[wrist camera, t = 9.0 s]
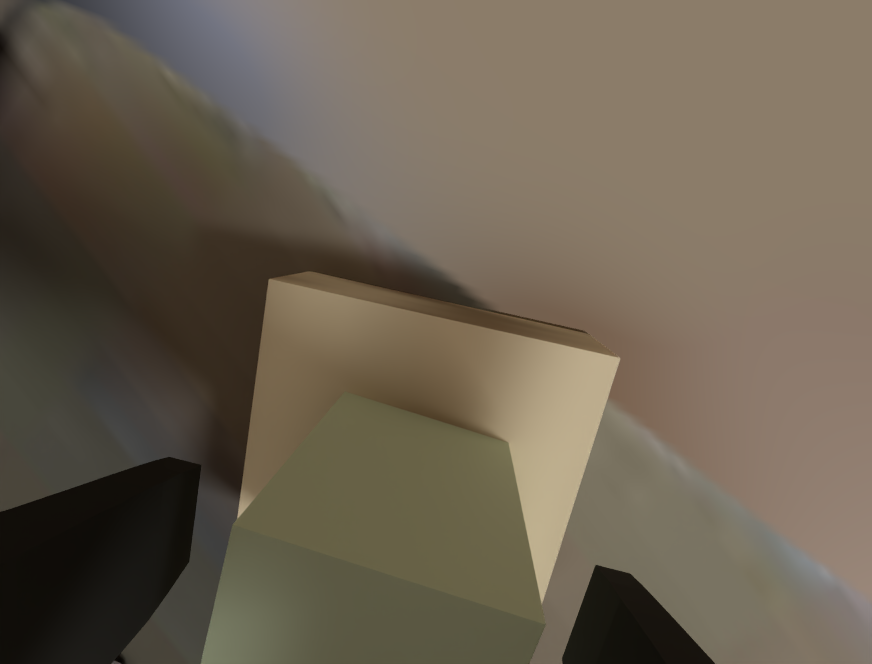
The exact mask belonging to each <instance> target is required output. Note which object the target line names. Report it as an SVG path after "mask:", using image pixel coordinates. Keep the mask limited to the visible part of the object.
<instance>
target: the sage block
mask: <svg viewBox="0 0 872 664" xmlns="http://www.w3.org/2000/svg"><path fill="white" fill-rule="evenodd" d="M545 625H546V623H545V618H544V614H543V609H542V604H541V599H540V594H539V589H538V584H537V579H536V575H535V570H534V565H533V560H532V555H531V550H530V545H529V540H528V536H527V531H526V526H525V521H524V516H523V511H522V506H521V501H520V497H519V492H518V487H517V482H516V477H515V472H514V467H513V462H512V457H511V453H510V448H509V443H508V442H505V441H502V440H498V439H495V438H492V437H489V436H486V435H482V434H479V433H476V432H473V431H470V430H467V429H463V428H460V427H457V426H454V425H451V424H447V423H444V422H441V421H438V420H435V419H431V418H428V417H425V416H422V415H419V414H415V413H412V412H409V411H406V410H403V409H400V408H396V407H393V406H390V405H387V404H384V403H380V402H377V401H374V400H371V399H368V398H364V397H361V396H358V395H355V394H352V393H348V392H344V393H343V394H342V396H341V397H340V398H339V399H338V400H337V401H336V403H335V404H334V405H333V406H332V407H331V409H330V410H329V411H328V412H327V413H326V415H325V416H324V417H323V418H322V419H321V420H320V422H319V423H318V424H317V425H316V426H315V428H314V429H313V430H312V431H311V432H310V434H309V435H308V436H307V437H306V438H305V439H304V441H303V442H302V443H301V444H300V445H299V447H298V448H297V449H296V450H295V451H294V453H293V454H292V455H291V456H290V457H289V458H288V460H287V461H286V462H285V463H284V464H283V466H282V467H281V468H280V469H279V470H278V472H277V473H276V474H275V475H274V476H273V477H272V479H271V480H270V481H269V482H268V483H267V485H266V486H265V487H264V488H263V489H262V490H261V492H260V493H259V494H258V495H257V496H256V498H255V499H254V500H253V501H252V502H251V504H250V505H249V506H248V507H247V508H246V509H245V511H244V512H243V513H242V514H241V515H240V517H239V518H238V519H237V520H236V521H235V523H234V524H233V525H232V530H231V534H230V538H229V543H228V547H227V552H226V556H225V560H224V565H223V569H222V573H221V578H220V582H219V586H218V591H217V595H216V599H215V604H214V608H213V613H212V617H211V621H210V626H209V630H208V634H207V639H206V643H205V647H204V652H203V656H202V661H201V664H529V663H530V660H531V658H532V656H533V653H534V651H535V649H536V646H537V644H538V642H539V639H540V637H541V635H542V632H543V630H544V628H545Z"/></svg>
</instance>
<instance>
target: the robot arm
mask: <svg viewBox="0 0 872 664" xmlns="http://www.w3.org/2000/svg"><path fill="white" fill-rule="evenodd" d="M200 471H201V465H199V464H195V463H191V462H187V461H183V460H179V459H175V458H171V457H167V458H163V459H159V460H155V461H152V462H149V463H146V464H142V465H139V466H136V467H133V468H130V469H127V470H124V471H121V472H118V473H115V474H112V475H109V476H106V477H103V478H100V479H98V480H95V481H92V482H89V483H86V484H83V485H80V486H77V487H74V488H71V489H68V490H65V491H62V492H59V493H56V494H53V495H50V496H47V497H45V498H42V499H39V500H36V501H33V502H30V503H27V504H24V505H21V506H18V507H15V508H12V509H9V510H5V511H2V512H0V664H121V663H119V662H117V661H114V660H115V659H116V658H117V657H118V655H119V654H120V653H121V652H122V651H123V649H124V648H125V647H126V646H127V645H128V644H129V642H130V641H131V640H132V639H133V638H134V637H135V635H136V634H137V633H138V632H139V631H140V630H141V628H142V627H143V626H144V625H145V624H146V622H147V621H148V620H149V619H150V617H151V616H152V614H153V613H154V612H155V610H156V609H157V607H158V606H159V605H160V603H161V602H162V601H163V599H164V598H165V596H166V595H167V594H168V592H169V591H170V589H171V588H172V586H173V585H174V583H175V582H176V580H177V579H178V577H179V576H180V574H181V573H182V571H183V570H184V569H185V567H186V566H187V564H188V563H189V559H190V551H191V543H192V535H193V527H194V519H195V511H196V503H197V495H198V487H199V479H200ZM562 662H563V664H715V663H714V662H713V661H712V660H711V659H710V657H709V656H708V655H707V654H706V653H705V652H704V651H703V650H702V649H701V648H700V647H699V646H698V644H697V643H696V642H695V641H694V640H693V639H692V638H691V637H690V636H689V635H688V634H687V633H686V631H685V630H684V629H683V628H682V627H681V626H680V625H679V624H678V623H677V622H676V621H675V620H674V618H673V617H672V616H671V615H670V614H669V613H668V612H667V611H666V610H665V609H664V608H663V607H662V606H661V604H660V603H659V602H658V601H657V600H656V599H655V598H654V597H653V596H652V595H651V594H650V593H649V592H648V591H647V590H646V589H645V588H644V587H643V586H642V585H641V584H640V583H639V582H638V581H637V580H636V579H635V578H634V577H633V576H632V575H631V574H630V573H626V572H622V571H618V570H614V569H610V568H606V567H602V566H598V565H596V566H595V568H594V571H593V574H592V577H591V579H590V582H589V585H588V588H587V591H586V593H585V596H584V599H583V602H582V605H581V607H580V610H579V613H578V616H577V618H576V621H575V624H574V627H573V630H572V632H571V635H570V638H569V641H568V644H567V646H566V649H565V652H564V655H563V657H562Z"/></svg>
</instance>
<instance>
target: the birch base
mask: <svg viewBox="0 0 872 664" xmlns="http://www.w3.org/2000/svg"><path fill="white" fill-rule="evenodd" d="M493 311H494V310H493ZM495 312H496V313H494V312H490V311H485V310H481V309H476V308H472V307H467V306H463V305H458V304H454V303H450V302H445V301H441V300H436V299H432V298H427V297H423V296H418V295H414V294H409V293H405V292H401V291H396V290H392V289H387V288H383V287H378V286H374V285H369V284H365V283H361V282H356V281H352V280H347V279H343V278H338V277H334V276H329V275H325V274H320V273H316V272H312V271H308V272H303V273H297V274H292V275H287V276H281V277H276V278H271V279H269V281H268V289H267V296H266V304H265V312H264V319H263V327H262V335H261V342H260V350H259V358H258V365H257V373H256V380H255V388H254V396H253V403H252V411H251V419H250V426H249V434H248V442H247V449H246V457H245V464H244V472H243V480H242V487H241V495H240V503H239V510H238V518H239V517H240V515H241V514H242V513H243V512H244V511H245V509H246V508H247V507H248V506H249V505H250V504H251V502H252V501H253V500H254V499H255V498H256V496H257V495H258V494H259V493H260V492H261V490H262V489H263V488H264V487H265V486H266V485H267V483H268V482H269V481H270V480H271V479H272V477H273V476H274V475H275V474H276V473H277V472H278V470H279V469H280V468H281V467H282V466H283V464H284V463H285V462H286V461H287V460H288V458H289V457H290V456H291V455H292V454H293V453H294V451H295V450H296V449H297V448H298V447H299V445H300V444H301V443H302V442H303V441H304V439H305V438H306V437H307V436H308V435H309V434H310V432H311V431H312V430H313V429H314V428H315V426H316V425H317V424H318V423H319V422H320V420H321V419H322V418H323V417H324V416H325V415H326V413H327V412H328V411H329V410H330V409H331V407H332V406H333V405H334V404H335V403H336V401H337V400H338V399H339V398H340V397H341V396H342V394H343V393H344V392H348V393H352V394H355V395H358V396H361V397H364V398H368V399H371V400H374V401H377V402H380V403H384V404H387V405H390V406H393V407H396V408H400V409H403V410H406V411H409V412H412V413H415V414H419V415H422V416H425V417H428V418H431V419H435V420H438V421H441V422H444V423H447V424H451V425H454V426H457V427H460V428H463V429H467V430H470V431H473V432H476V433H479V434H482V435H486V436H489V437H492V438H495V439H498V440H502V441H505V442H508V443H509V448H510V453H511V457H512V462H513V467H514V472H515V477H516V482H517V487H518V492H519V497H520V501H521V506H522V511H523V516H524V521H525V526H526V531H527V536H528V540H529V545H530V550H531V555H532V560H533V565H534V570H535V575H536V579H537V584H538V589H539V594H540V599H541V604H542V602H543V599H544V596H545V593H546V589H547V586H548V583H549V580H550V577H551V574H552V571H553V568H554V564H555V561H556V558H557V555H558V552H559V549H560V546H561V542H562V539H563V536H564V533H565V530H566V527H567V524H568V521H569V517H570V514H571V511H572V508H573V505H574V502H575V499H576V495H577V492H578V489H579V486H580V483H581V480H582V477H583V474H584V470H585V467H586V464H587V461H588V458H589V455H590V452H591V449H592V445H593V442H594V439H595V436H596V433H597V430H598V427H599V423H600V420H601V417H602V414H603V411H604V408H605V405H606V402H607V398H608V395H609V392H610V389H611V385H612V382H613V380H614V376H615V373H616V370H617V367H618V364H619V360H620V357H618V356H617V355H616V354H614V353H613V352H612V351H610V350H609V349H608V348H607V347H605V346H604V345H602V344H601V343H600V342H599V341H597V340H596V339H595V338H594V337H592V336H591V335H590V334H588V333H587V332H586V331H583V330H579V329H574V328H570V327H565V326H561V325H557V324H552V323H548V322H543V321H539V320H535V319H530V318H526V317H520V316H517V315H512V314H508V313H503V312H499V311H495ZM238 518H237V519H238Z"/></svg>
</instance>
